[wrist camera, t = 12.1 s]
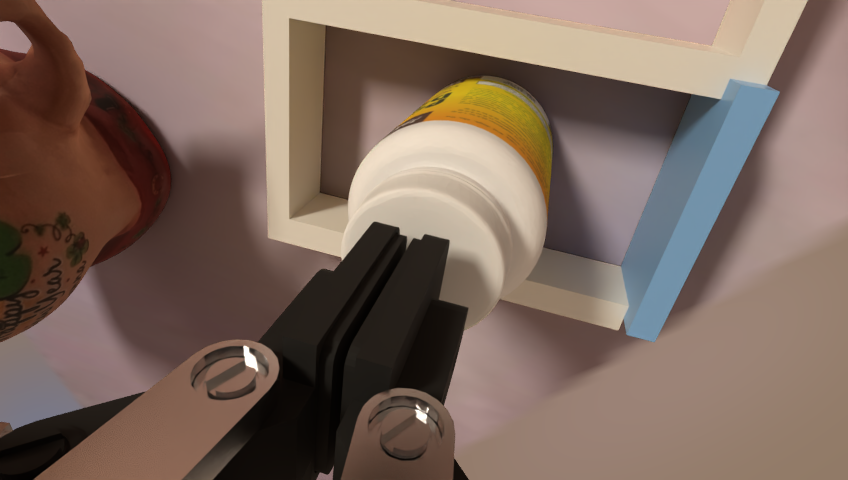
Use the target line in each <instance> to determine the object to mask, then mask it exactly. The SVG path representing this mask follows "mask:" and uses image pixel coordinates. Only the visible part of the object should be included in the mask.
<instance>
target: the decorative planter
mask: <svg viewBox="0 0 848 480" xmlns="http://www.w3.org/2000/svg"><path fill="white" fill-rule="evenodd" d="M2 21H10V22H14V23H15V24H16V25H17V26H18V27H19V28H20V29H21V30H22V31H23V32H24V34H25V35H26V36H27V37H28V39H29V40H30V42H31V43H32V46H31V47H30V49H29V51H28V53H27V54H25V53H18V52H12V51H8V50H4V49H0V342H2V341H5V340H7V339H9V338H11V337H13V336H15V335H17V334H19V333H21V332H23V331H25V330H28V329H29V328H31V327H32V326H34V325H36V324H37V323H38V322H40V321H41V320H43V319H44V318H45V317H47V316H48V315H49V314H51V313H52V312H53V311H54V310H56V309H57V308H58V307H59V306H60V305H61V304H62V303H63V302H64V301H65V300H66V299H67V298H68V297H69V296H70V294H71V293H72V292H73V291H74V289H75V288H76V287H77V285H78V284H79V283H80V281H81V280H82V278H83V277H84V275H85V274H86V272H87V270H88V269H89V267H91V266H93V265H95V264H98V263H100V262H103V261H105V260H107V259H109V258H111V257H113V256H115V255H117V254H118V253H120V252H122V251H123V250H125V249H126V248H128V247H129V246H131V245H132V244H133V243H134V242H135V241H137V240H138V239H139V238H140V237H141V236H142V235H143V234H144V233H145V232H146V231H147V230H148V229H149V228H150V227H151V226H152V225H153V223H154V222H155V221H156V220H157V218H158V217H159V215H160V214H161V212H162V210H163V208H164V206H165V204H166V202H167V199H168V196H169V193H170V187H171V174H170V168H169V165H168V162H167V159H166V157H165V154H164V152H163V150H162V148H161V146H160V145H159V143H158V142H157V140H156V138H155V137H154V136H153V134H152V133H151V131H150V130H149V128H148V127H147V126H146V124H145V123H144V121H143V120H142V119H141V118H140V116H139V115H138V114H137V112H136V111H135V110H134V109H133V108H132V107H131V106H130V105H129V104H128V103H127V102H126V101H125V100H124V99H123V98H122V97H121V96H120V95H118V94H117V93H116V92H115V91H114V90H113V89H111V88H110V87H109V86H108V85H106V84H105V83H104V82H103V81H101V80H100V79H99V78H97V77H96V76H94V75H93V74H91V73H89V72H88V71H86V70H85V69H84V65H83V62H82V60H81V59H80V58H79V56H78V55H77V53H76V51H75V50H74V47H73V45H72V42H71V41H70V40H69V38H68V37H67V36H66V35H65V34H64V33H62V32H61V31H60V30H59V29H58V28H57V27H56V26H55V25H54V24H53V23H52V22H51V20H50V19H49V18H48V17H47V16H46V14H45V13H44V12H43V10H42V9H41V8H40V6H39V5H38V4H37V2H36V1H35V0H0V22H2Z"/></svg>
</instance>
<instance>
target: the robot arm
mask: <svg viewBox="0 0 848 480" xmlns="http://www.w3.org/2000/svg"><path fill="white" fill-rule="evenodd" d="M449 244H450V240H448V239H444V238H440V237H436V236H432V235H428V234H424V236H423V237H422V239H421V240H420V239H416V238H413V239H412V241H411V243H410V244H409V246H408V248H407V249H406V245H407V236H404V235H400V229H399V227H395V226H391V225H387V224H383V223H379V222H375V221H374V222H373V223H372V224H371V225H370V226H369V228H368V229H367V230H366V231H365V233H364V234H363V235H362V236H361V238H360V239H359V240H358V241H357V243H356V244H355V245H354V246H353V248H352V249H351V250H350V252H349V253H348V254H347V255H346V257H345V258H344V259H343V260H342V262H341V263H340V264H339V265H338V267H337V268H336V269H335V270H334V271H330V270H327V269H321V270H320V271H318V272H317V273H316V274H315V276H314V277H313V278H312V279H311V280H310V281H309V283H308V284H307V285H306V286H305V287H304V288H303V290H302V291H301V292H300V293H299V294H298V295H297V297H296V298H295V299H294V300H293V301H292V303H291V304H290V305H289V306H288V307H287V308H286V310H285V311H284V312H283V313H282V314H281V315H280V317H279V318H278V319H277V320H276V321H275V322H274V324H273V325H272V326H271V327H270V328H269V330H268V331H267V332H266V333H265V334H264V335H263V337H262V338H261V339H260V340H259V341H258V342H254V341H251V340H238V339H234V340H227V341H221V342H218V343H215V344H212V345H209V346H207V347H205V348H203V349H202V350H200V351H198V352H197V353H195V354H194V355H192V356H191V357H190V358H188V359H187V360H186V361H185V362H183V363H182V364H181V365H179V366H178V367H177V368H176V369H174V370H173V371H172V372H171V373H169V374H168V375H167V376H165V377H164V378H163V379H162V380H160V381H159V382H158V383H156V384H155V385H154V386H153V387H151V388H150V389H149V390H147V391H146V392H142V393H138V394H135V395H131V396H127V397H124V398H120V399H116V400H113V401H109V402H105V403H101V404H98V405H94V406H90V407H87V408H83V409H79V410H76V411H72V412H68V413H64V414H61V415H57V416H53V417H50V418H46V419H43V420H39V421H36V422H33V423H30V424H27V425H24V426H22V427H19V428H17V429H15V430H12V427H11V425H10V423H5V422H0V480H316V479H317V477H318V475H319V473H320V472H321V473H324V474H327V475H328V474H329V473H330V471H331V470H332V468H333V466H334V471H333V480H469V479H468V478H467V476H466V475H465V473H464V472H463V470H462V469H461V467H460V466H459V465H458V463H457V462H456V460H455V459H454V449H455V429H454V422H453V420H452V418H451V416H450V414H449V412H448V410H447V409H446V408H445V407H444V403H445V399H446V396H447V392H448V389H449V385H450V382H451V378H452V374H453V371H454V367H455V363H456V359H457V355H458V352H459V347H460V343H461V339H462V335H463V331H464V327H465V322H466V318H467V314H468V309H469V308H468V307H465V306H461V305H457V304H453V303H450V302H446V301H442V300H439V297H440V291H441V286H442V281H443V276H444V271H445V266H446V261H447V255H448V250H449Z"/></svg>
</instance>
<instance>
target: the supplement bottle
mask: <svg viewBox="0 0 848 480" xmlns="http://www.w3.org/2000/svg"><path fill="white" fill-rule="evenodd" d="M552 155H553V137H552V130H551V126H550V123H549V120H548V118H547V115H546V113H545V112H544V110H543V108H542V107H541V105H540V104H539V103H538V101H537V100H536V99H535V98H534V97H533V96H532V95H531V94H530V93H529V92H528V91H527V90H525V89H524V88H522V87H521V86H519V85H517V84H516V83H514V82H511V81H509V80H506V79H503V78H500V77H494V76H472V77H467V78H463V79H460V80H457V81H455V82H453V83H451V84H449V85H448V86H446V87H444V88H443V89H442V90H440V91H439V92H437V93H436V94H435V95H434V96H432V97H431V98H430V99H429V100H428V101H427V102H426V103H424V104H423V105H422V106H421V107H420V108H419V109H417V110H416V111H415V112H414V113H413V114H412V115H410V116H409V117H408V118H407V119H406V120H405V121H404V122H402V123H401V124H400V125H399V126H398V127H396V128H395V129H394V130H393V131H392V132H391V133H389V134H388V135H387V136H386V137H385V138H383V139H382V140H381V141H380V142H379V143H378V144H377V145H376V146H375V147H374V148H373V149H372V150H371V151H370V152H369V153H368V154H367V156H366V157H365V158H364V160H363V161H362V162H361V164H360V166H359V168H358V169H357V171H356V174H355V176H354V178H353V181H352V184H351V188H350V192H349V199H348V219H349V222H348V224H347V226H346V229H345V231H344V234H343V239H342V244H341V259H342V260H343V259H344V258H345V257H346V255H347V254H348V253H349V252H350V250H351V249H352V248H353V246H354V245H355V244H356V243H357V241H358V240H359V239H360V238H361V236H362V235H363V234H364V233H365V231H366V230H367V229H368V228H369V226H370V225H371V224H372V223H373V222H374V221H375V222H379V223H383V224H387V225H391V226H395V227H399V229H400V235H404V236H407V245H406V249H407V248H408V246H409V244H410V243H411V241H412V239H413V238H416V239H420V240H421V239H422V237H423V236H424V234H428V235H432V236H436V237H440V238H444V239H448V240H450V244H449V250H448V255H447V261H446V266H445V271H444V276H443V281H442V286H441V291H440V297H439V300H442V301H446V302H450V303H453V304H457V305H461V306H465V307H468V308H469V309H468V314H467V318H466V322H465V327H464V330H466V329H469V328H470V327H472V326H474V325H476V324H478V323H479V322H480V321H481V320H483V319H484V318H485V317H486V316H487V315H488V314H489V313H490V312H491V311H492V310H493V308H494V307H495V306H496V304H497V303H498V301H499V299H501V298H503V297H504V296H506V295H508V294H509V293H511V292H512V291H513V290H515V289H516V288H517V287H518V286H519V285H520V284H521V283H522V282H523V281H524V280H525V279H526V278H527V277H528V276H529V274H530V273H531V271H532V270H533V269H534V267H535V265H536V264H537V261H538V259H539V257H540V255H541V252H542V249H543V246H544V242H545V237H546V230H547V218H548V205H549V193H550V180H551V165H552Z"/></svg>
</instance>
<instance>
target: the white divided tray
mask: <svg viewBox="0 0 848 480" xmlns="http://www.w3.org/2000/svg"><path fill="white" fill-rule="evenodd" d="M807 1H808V0H730V3H729V5H728V7H727V10H726V12H725V15H724V17H723V20H722V22H721V24H720V27H719V29H718V32H717V34H716V37H715V39H714V41H713V44H712V46H711V45H705V44H699V43H693V42H688V41H682V40H676V39H670V38H664V37H659V36H653V35H647V34H641V33H636V32H630V31H624V30H618V29H612V28H607V27H601V26H595V25H589V24H584V23H578V22H572V21H566V20H560V19H555V18H549V17H543V16H537V15H531V14H526V13H520V12H514V11H508V10H503V9H497V8H491V7H485V6H479V5H474V4H468V3H462V2H456V1H450V0H262V18H263V58H264V97H265V137H266V176H267V215H268V238H270V239H274V240H277V241H281V242H285V243H289V244H293V245H296V246H300V247H304V248H308V249H312V250H315V251H319V252H323V253H327V254H330V255H334V256H338V257H341V244H342V239H343V234H344V231H345V229H346V226H347V224H348V222H349V219H348V200H347V199H343V198H339V197H335V196H331V195H327V194H323V193H320V176H321V147H322V118H323V90H324V61H325V32H326V25H329V26H334V27H339V28H345V29H350V30H355V31H361V32H366V33H371V34H377V35H382V36H387V37H393V38H398V39H403V40H409V41H414V42H419V43H424V44H430V45H435V46H440V47H446V48H451V49H456V50H462V51H467V52H472V53H478V54H483V55H488V56H494V57H499V58H504V59H509V60H515V61H520V62H525V63H531V64H536V65H541V66H547V67H552V68H557V69H563V70H568V71H573V72H579V73H584V74H589V75H594V76H600V77H605V78H610V79H616V80H621V81H626V82H632V83H637V84H642V85H648V86H653V87H658V88H664V89H669V90H674V91H679V92H685V93H690V94H692V95H691V97H690V100H689V102H688V105H687V107H686V109H685V112H684V114H683V117H682V119H681V122H680V124H679V126H678V129H677V131H676V134H675V136H674V139H673V141H672V143H671V146H670V148H669V151H668V153H667V156H666V158H665V160H664V163H663V165H662V168H661V170H660V173H659V175H658V177H657V180H656V182H655V185H654V187H653V190H652V192H651V194H650V197H649V199H648V202H647V204H646V207H645V209H644V211H643V214H642V216H641V219H640V221H639V224H638V226H637V228H636V231H635V233H634V236H633V238H632V241H631V243H630V245H629V248H628V250H627V253H626V255H625V258H624V260H623V262H622V265H621V266H617V265H613V264H609V263H605V262H600V261H596V260H592V259H588V258H584V257H580V256H576V255H572V254H568V253H564V252H560V251H555V250H551V249H547V248H543V249H542V252H541V255H540V257H539V259H538V261H537V264H536V265H535V267H534V269H533V270H532V271H531V273H530V274H529V276H528V277H527V278H526V279H525V280H524V281H523V282H522V283H521V284H520V285H519V286H518V287H517V288H516V289H515V290H513V291H512V292H511V293H509V294H508V295H506V296H504V297H503V298H501V300H504V301H508V302H512V303H516V304H520V305H523V306H527V307H531V308H535V309H538V310H542V311H546V312H550V313H554V314H557V315H561V316H565V317H569V318H572V319H576V320H580V321H584V322H588V323H591V324H595V325H599V326H603V327H607V328H610V329H614V330H619V328H620V326H621V323H622V321H623V319H624V324H625V329H626V335H629V336H633V337H636V338H640V339H644V340H648V341H651V342H655V341H656V339H657V337H658V335H659V333H660V331H661V329H662V327H663V325H664V323H665V321H666V319H667V317H668V315H669V313H670V311H671V309H672V307H673V305H674V303H675V301H676V299H677V297H678V295H679V293H680V291H681V289H682V287H683V285H684V283H685V281H686V279H687V277H688V275H689V273H690V271H691V269H692V267H693V265H694V263H695V261H696V259H697V257H698V255H699V253H700V251H701V249H702V247H703V245H704V243H705V241H706V239H707V237H708V235H709V233H710V231H711V229H712V227H713V225H714V223H715V221H716V219H717V217H718V215H719V213H720V211H721V209H722V207H723V205H724V203H725V201H726V199H727V197H728V195H729V193H730V191H731V189H732V187H733V185H734V183H735V181H736V179H737V177H738V175H739V173H740V171H741V169H742V167H743V165H744V163H745V161H746V159H747V157H748V155H749V153H750V151H751V149H752V147H753V145H754V143H755V141H756V139H757V137H758V135H759V133H760V131H761V129H762V127H763V125H764V123H765V121H766V119H767V117H768V115H769V113H770V111H771V109H772V107H773V105H774V103H775V101H776V99H777V97H778V95H779V93H780V92H779V91H777V90H775V89H773V88H771V87H769V86H767V84H768V82H769V80H770V77H771V75H772V73H773V71H774V69H775V67H776V65H777V63H778V61H779V59H780V57H781V55H782V53H783V51H784V49H785V46H786V44H787V42H788V40H789V38H790V36H791V34H792V32H793V30H794V28H795V26H796V24H797V22H798V20H799V18H800V15H801V13H802V11H803V9H804V7H805V5H806V3H807Z"/></svg>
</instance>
